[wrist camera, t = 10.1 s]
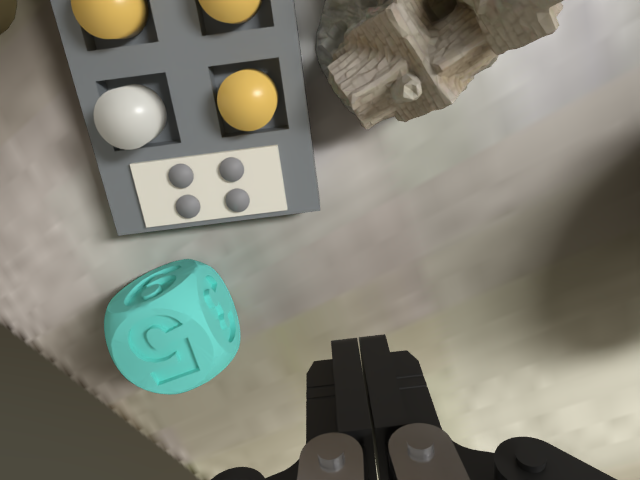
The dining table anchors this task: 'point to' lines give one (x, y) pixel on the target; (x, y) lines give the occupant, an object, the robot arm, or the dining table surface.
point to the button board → (198, 117)
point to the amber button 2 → (231, 9)
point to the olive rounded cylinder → (7, 13)
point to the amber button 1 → (111, 17)
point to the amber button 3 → (247, 99)
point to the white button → (130, 116)
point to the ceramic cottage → (419, 49)
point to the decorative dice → (172, 328)
